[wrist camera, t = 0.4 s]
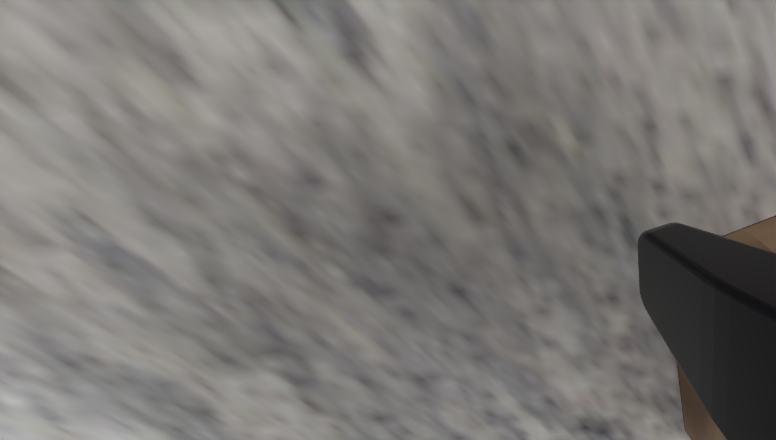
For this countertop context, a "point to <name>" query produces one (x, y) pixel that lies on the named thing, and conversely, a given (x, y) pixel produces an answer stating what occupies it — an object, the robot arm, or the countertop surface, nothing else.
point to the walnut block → (696, 419)
